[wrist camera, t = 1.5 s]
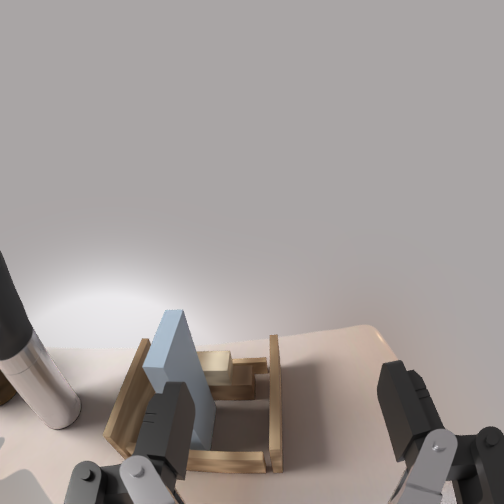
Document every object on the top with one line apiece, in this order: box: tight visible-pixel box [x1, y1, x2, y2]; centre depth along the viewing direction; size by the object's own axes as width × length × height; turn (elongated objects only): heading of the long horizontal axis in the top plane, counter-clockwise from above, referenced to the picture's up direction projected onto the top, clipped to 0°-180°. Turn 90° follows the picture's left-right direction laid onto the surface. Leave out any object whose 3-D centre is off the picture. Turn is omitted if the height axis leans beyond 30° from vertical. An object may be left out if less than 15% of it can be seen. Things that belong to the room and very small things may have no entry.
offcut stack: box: [197, 351, 255, 400], centre depth 45 cm, size 14×4×8 cm, turn 88°
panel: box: [142, 310, 216, 451], centre depth 35 cm, size 2×9×20 cm, turn 177°
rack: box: [103, 335, 283, 473], centre depth 40 cm, size 22×20×8 cm
